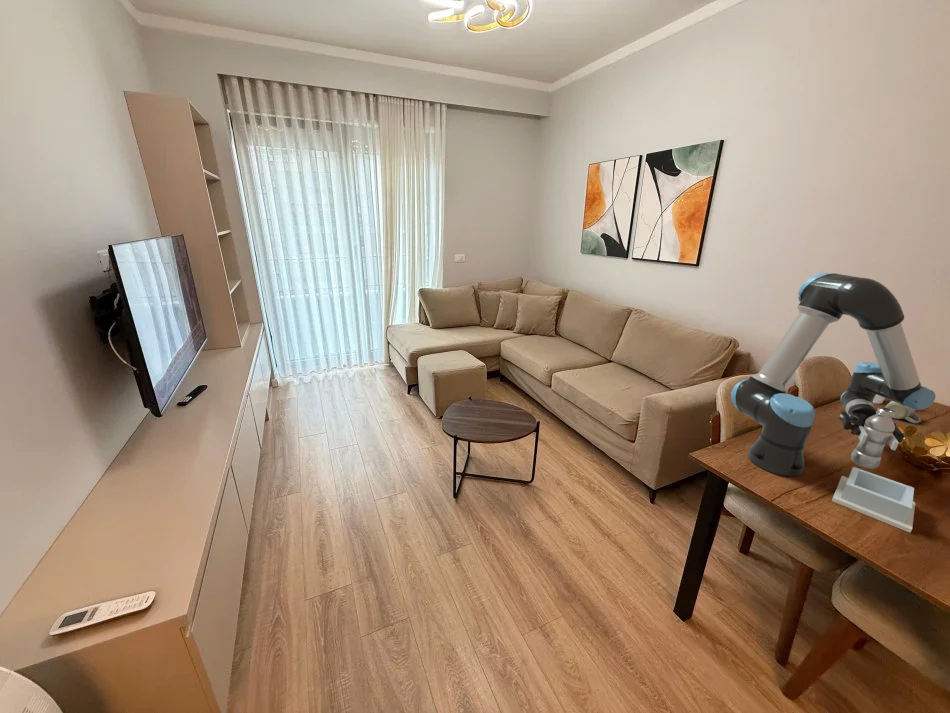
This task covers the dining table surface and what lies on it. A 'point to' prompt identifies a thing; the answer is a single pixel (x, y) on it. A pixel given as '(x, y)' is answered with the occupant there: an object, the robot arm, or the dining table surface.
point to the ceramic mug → (903, 412)
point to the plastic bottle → (874, 438)
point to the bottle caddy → (877, 498)
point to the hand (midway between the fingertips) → (879, 442)
